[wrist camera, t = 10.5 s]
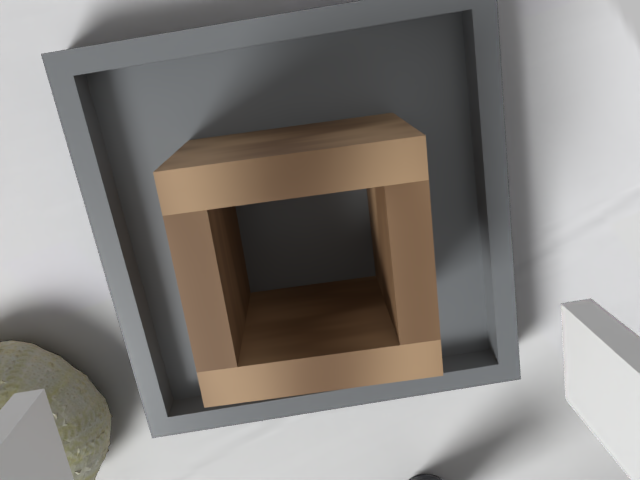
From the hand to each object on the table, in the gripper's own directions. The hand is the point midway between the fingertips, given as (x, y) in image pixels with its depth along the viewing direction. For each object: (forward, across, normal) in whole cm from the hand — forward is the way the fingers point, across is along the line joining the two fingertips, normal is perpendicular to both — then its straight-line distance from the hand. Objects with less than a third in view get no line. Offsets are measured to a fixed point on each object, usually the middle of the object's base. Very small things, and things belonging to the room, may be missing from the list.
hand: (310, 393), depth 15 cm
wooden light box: (+13, 0, 0) cm, 13 cm away
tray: (+14, 0, -1) cm, 14 cm away
